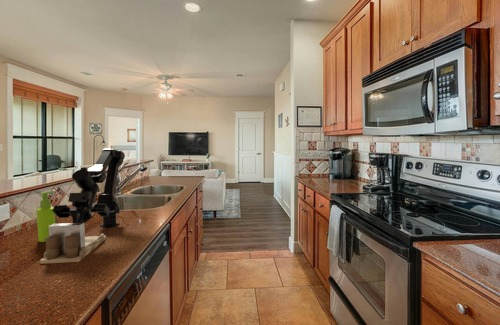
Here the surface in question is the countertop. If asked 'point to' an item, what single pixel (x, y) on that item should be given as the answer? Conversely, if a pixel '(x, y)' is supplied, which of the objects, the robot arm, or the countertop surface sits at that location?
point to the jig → (69, 248)
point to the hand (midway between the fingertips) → (74, 230)
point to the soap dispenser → (45, 217)
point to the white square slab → (67, 230)
